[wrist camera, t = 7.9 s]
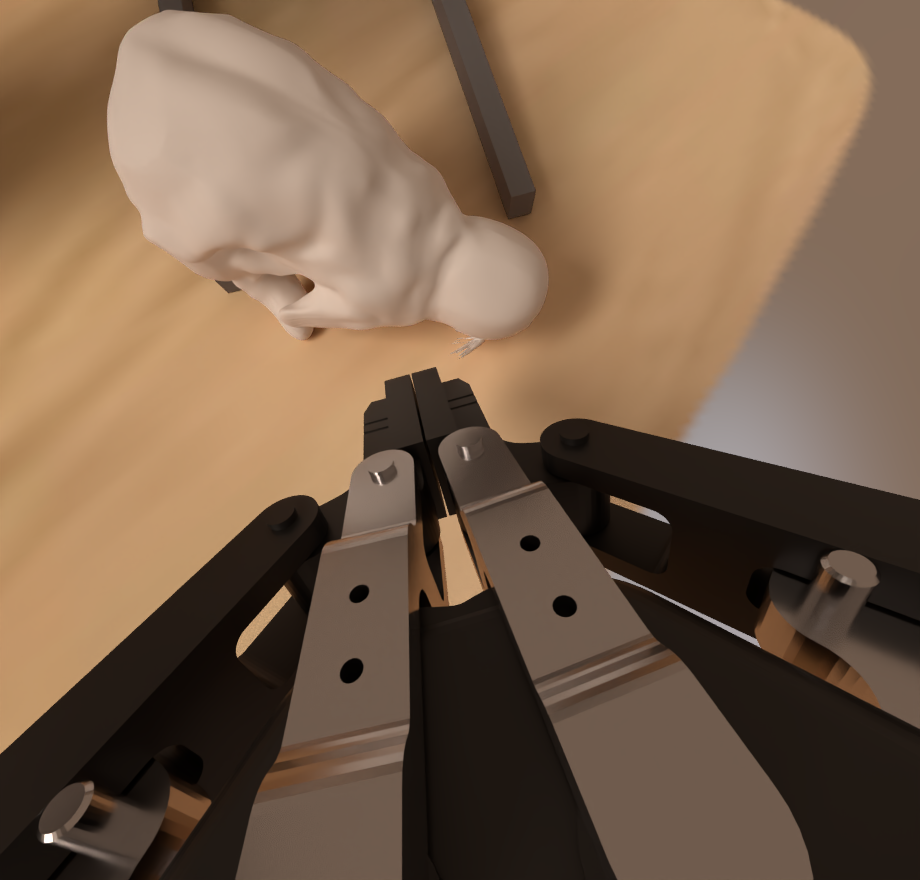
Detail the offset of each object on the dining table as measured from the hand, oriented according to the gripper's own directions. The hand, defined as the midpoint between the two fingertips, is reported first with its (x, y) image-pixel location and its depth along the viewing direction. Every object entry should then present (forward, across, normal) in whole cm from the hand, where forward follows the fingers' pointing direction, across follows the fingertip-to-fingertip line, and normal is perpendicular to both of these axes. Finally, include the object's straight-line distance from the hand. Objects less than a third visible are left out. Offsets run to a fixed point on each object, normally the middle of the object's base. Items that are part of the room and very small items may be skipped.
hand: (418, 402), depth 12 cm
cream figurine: (+7, 0, -1) cm, 7 cm away
